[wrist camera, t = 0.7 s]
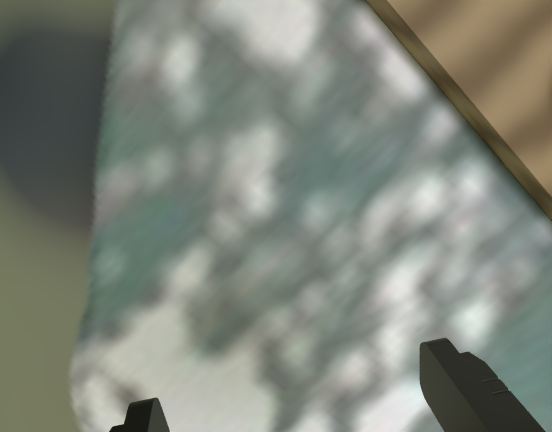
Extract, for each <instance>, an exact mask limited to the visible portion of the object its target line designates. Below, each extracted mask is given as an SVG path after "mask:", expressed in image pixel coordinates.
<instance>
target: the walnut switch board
mask: <svg viewBox="0 0 552 432" xmlns="http://www.w3.org/2000/svg"><path fill="white" fill-rule="evenodd" d="M366 2H367V3H368V4H369V5H370V6H371V7H372V9H373V10H374V11H375V12H376V13H377V14H378V16H379V17H380V18H381V19H382V20H383V22H384V23H385V24H386V25H387V26H388V27H389V29H390V30H391V31H392V32H393V33H394V35H395V36H396V37H397V38H398V39H399V40H400V42H401V43H402V44H403V45H404V46H405V48H406V49H407V50H408V51H409V52H410V53H411V55H412V56H413V57H414V58H415V59H416V61H417V62H418V63H419V64H420V65H421V66H422V68H423V69H424V70H425V71H426V72H427V74H428V75H429V76H430V77H431V78H432V79H433V81H434V82H435V83H436V84H437V85H438V87H439V88H440V89H441V90H442V91H443V92H444V94H445V95H446V96H447V97H448V98H449V100H450V101H451V102H452V103H453V104H454V105H455V107H456V108H457V109H458V110H459V111H460V113H461V114H462V115H463V116H464V117H465V118H466V120H467V121H468V122H469V123H470V124H471V126H472V127H473V128H474V129H475V130H476V131H477V133H478V134H479V135H480V136H481V137H482V139H483V140H484V141H485V142H486V143H487V144H488V146H489V147H490V148H491V149H492V150H493V152H494V153H495V154H496V155H497V156H498V157H499V159H500V160H501V161H502V162H503V163H504V165H505V166H506V167H507V168H508V169H509V170H510V172H511V173H512V174H513V175H514V176H515V178H516V179H517V180H518V181H519V182H520V183H521V185H522V186H523V187H524V188H525V189H526V191H527V192H528V193H529V194H530V195H531V196H532V198H533V199H534V200H535V201H536V202H537V204H538V205H539V206H540V207H541V208H542V209H543V211H544V212H545V213H546V214H547V215H548V217H549V218H550V219H551V220H552V0H366Z"/></svg>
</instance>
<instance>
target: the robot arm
mask: <svg viewBox="0 0 552 432" xmlns="http://www.w3.org/2000/svg"><path fill="white" fill-rule="evenodd" d="M420 385H421V389H422V392H423V395H424V398H425V400H426V402H427V403H428V405H429V407H430V408H431V410H432V412H433V413H434V415H435V417H436V418H437V420H438V422H439V423H440V425H441V427H442V428H443V430H444V432H545V430H544V429H543V428H542V427H541V426H540V425H539V424H538V422H537V421H536V420H535V419H534V418H533V417H532V416H531V414H530V413H529V412H528V411H527V410H526V409H525V407H524V406H523V405H522V404H521V403H520V402H519V401H518V399H517V398H516V397H515V396H514V395H513V394H512V392H511V391H508V388H507V387H506V386H505V384H504V383H503V382H502V381H501V380H500V379H498V376H497V375H496V374H495V373H494V372H493V371H492V369H491V368H490V367H489V366H488V365H487V364H486V363H485V362H484V361H482V360H481V359H479V358H478V357H476V356H474V355H473V354H471V353H470V352H464V353H459V352H458V351H457V349H456V348H455V347H454V346H453V345H452V343H451V342H450V341H449V340H448V339H447V338H442V339H437V340H432V341H427V342H423V343H421V344H420ZM109 432H170V430H169V427H168V425H167V422H166V419H165V416H164V413H163V410H162V407H161V404H160V401H159V399H158V398H152V399H147V400H142V401H137V402H133V403H130V405H129V407H128V410H127V414H126V418H125V422H124V424H122V425H118V426H113V427H112V428H111V430H110V431H109Z"/></svg>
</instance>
